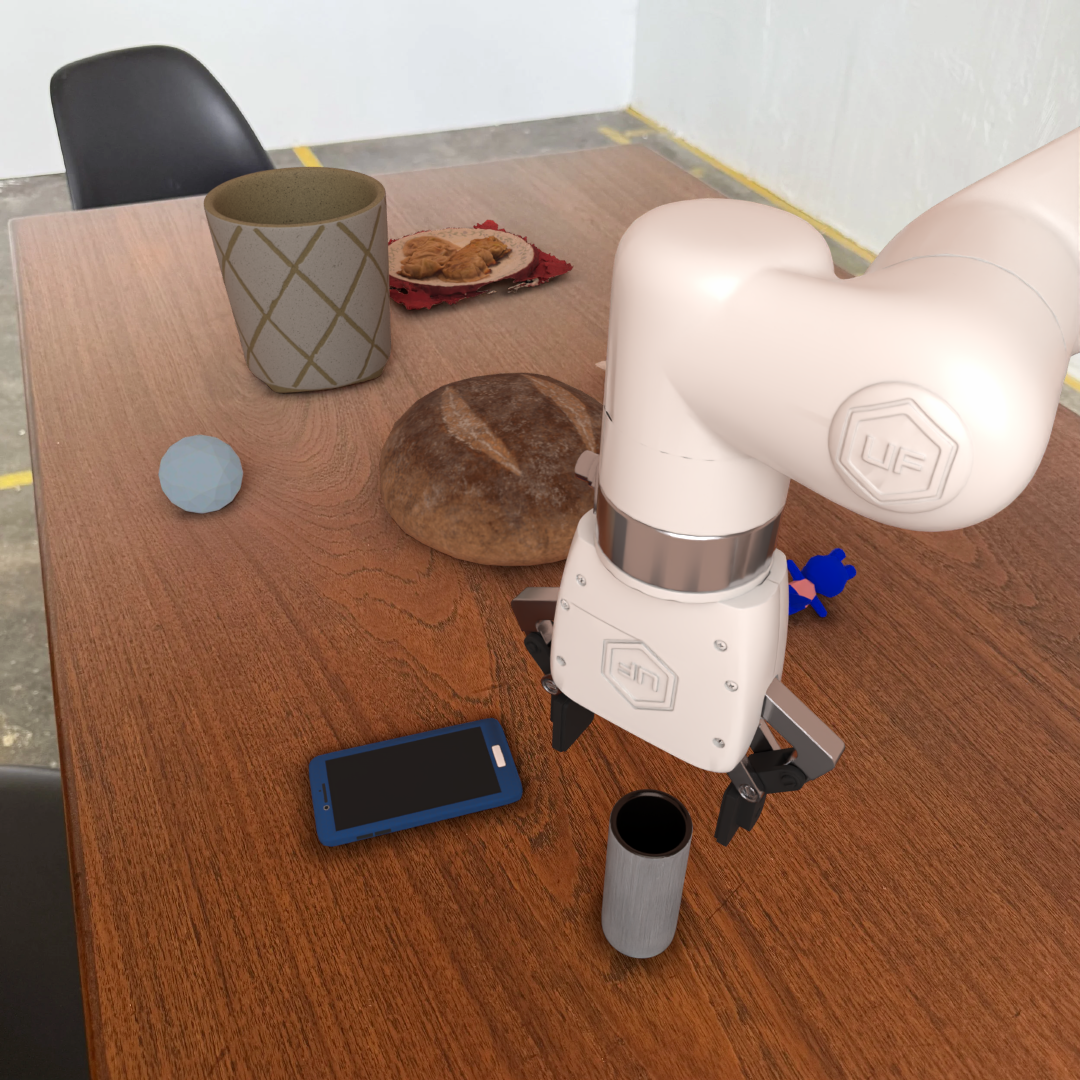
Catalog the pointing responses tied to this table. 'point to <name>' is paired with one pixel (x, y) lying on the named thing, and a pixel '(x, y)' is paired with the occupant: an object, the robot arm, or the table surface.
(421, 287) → the plate with food
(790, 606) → the figurine
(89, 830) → the table surface
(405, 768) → the cell phone
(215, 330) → the table surface
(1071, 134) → the robot arm
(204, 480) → the gemstone
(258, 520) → the table surface
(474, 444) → the bread
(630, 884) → the planter
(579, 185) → the table surface
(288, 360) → the planter
